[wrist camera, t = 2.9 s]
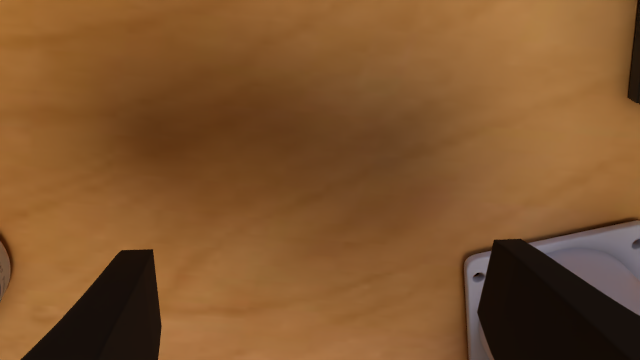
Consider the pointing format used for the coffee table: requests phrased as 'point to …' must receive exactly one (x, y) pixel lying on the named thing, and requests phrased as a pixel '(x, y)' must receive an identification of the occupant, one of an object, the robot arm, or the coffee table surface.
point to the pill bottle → (4, 270)
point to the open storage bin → (636, 65)
